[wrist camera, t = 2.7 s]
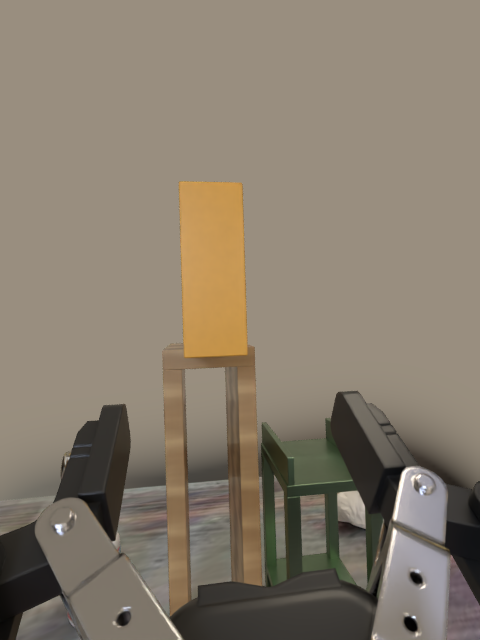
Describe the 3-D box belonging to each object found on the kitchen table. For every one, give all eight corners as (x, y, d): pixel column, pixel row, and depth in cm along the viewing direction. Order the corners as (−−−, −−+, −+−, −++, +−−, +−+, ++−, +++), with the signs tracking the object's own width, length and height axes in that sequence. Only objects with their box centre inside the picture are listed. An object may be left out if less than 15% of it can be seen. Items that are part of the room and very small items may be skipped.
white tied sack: (336, 543, 59) (357, 509, 52) (318, 498, 65) (335, 462, 58) (400, 531, 62) (427, 497, 55) (377, 489, 68) (400, 453, 61)
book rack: (389, 692, 33) (380, 450, 33) (294, 709, 32) (285, 458, 32) (337, 595, 45) (331, 417, 45) (266, 605, 44) (260, 422, 44)
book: (248, 355, 23) (242, 181, 23) (183, 358, 22) (178, 179, 22) (220, 341, 44) (218, 250, 44) (187, 343, 43) (184, 250, 43)
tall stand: (266, 714, 32) (254, 346, 32) (172, 730, 30) (162, 350, 31) (245, 607, 43) (237, 341, 44) (178, 617, 42) (170, 343, 43)
